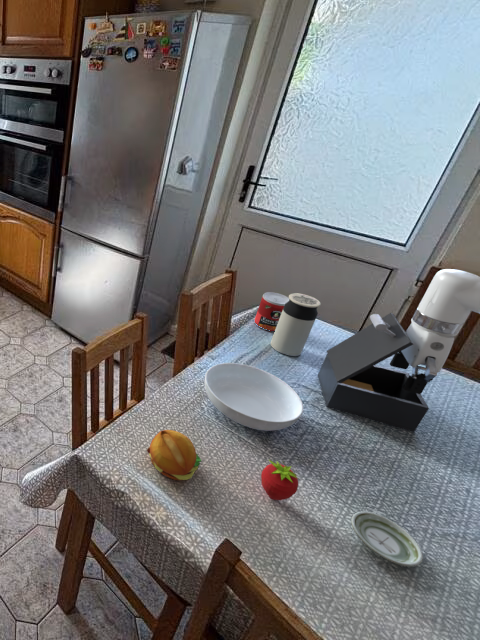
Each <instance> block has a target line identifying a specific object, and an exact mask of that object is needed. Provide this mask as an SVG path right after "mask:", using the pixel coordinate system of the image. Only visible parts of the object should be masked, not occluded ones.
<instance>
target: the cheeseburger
mask: <svg viewBox="0 0 480 640" xmlns="http://www.w3.org/2000/svg"><path fill="white" fill-rule="evenodd" d="M193 443H194V442H193V441H192V440H191V439H190V438H189V437H188V436H187V435H186V434H184V433H182V432H180V431H176V430H174V429H173V430H172V429H164V430H160V431H159V432H158V433H157V434H156V435H154V437H153V438H152V440H151V442H150V445H149V447H148V448H147V449H146V452H147V453H148V455H149V457H150V458H149V459H150V462H151V464H152V465H153V467H154V469H156V470H157V471H158V472H159V473H160V474H162V475H163V476H165V477H166V478H169V479H170V480H174V481H175V480H176V481H180V482H181V481H187V480H188V481H189V480H190V479H192V478H193V476H194V474H195V472H196V471H197V470H198V469H199V466H200V465H201V463H202V462H203V461H202V458H201V457H200V456H199V455H198V453H197V450H196V447H195V445H194V444H193Z"/></svg>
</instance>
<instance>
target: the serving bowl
mask: <svg viewBox="0 0 480 640" xmlns="http://www.w3.org/2000/svg"><path fill="white" fill-rule="evenodd" d="M204 389H205V393H206V395H207V398H208V399H209V401H210V403H212V405H213V406H214V407H215V408H216V409H217V411H219V412H220V413H221V414H222V415H224V416H225V417H226V418H228V419H229V420H231V421H233V422H235V423H237V424H239V425H241V426H244V427H245V428H250V429H253V430H258V431H264V432H265V431H266V432H273V431H281V430H284V429H287V428H289V427H291V426H293V425H294V424H295V423H297V422H298V420H299V419H300V418H301V416H302V415H303V413H304V403H303V400H302V399H301V397H300V395H299V394H298V392H296V391H295V389H294V388H292V386H290V385H289V384H288V383H287V382H286V381H284V380H282V379H281V378H280V377H278V376H276V375H275V374H272V373H271V372H268V371H266V370H265V369H261V368H258V367H256V366H253V365H248V364H243V363H236V362H223V363H218V364H215V365H212V366H211V367H209V368H208V369H207V370H206V372H205V374H204Z"/></svg>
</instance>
